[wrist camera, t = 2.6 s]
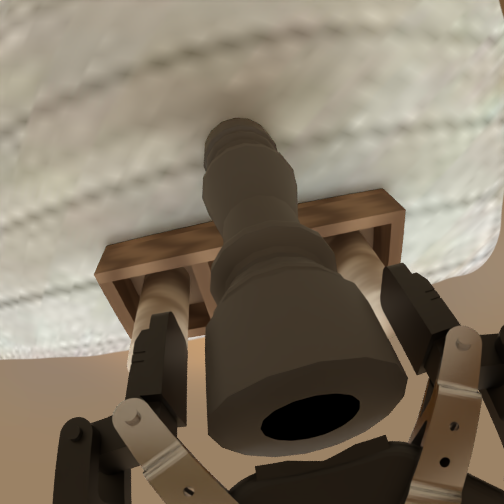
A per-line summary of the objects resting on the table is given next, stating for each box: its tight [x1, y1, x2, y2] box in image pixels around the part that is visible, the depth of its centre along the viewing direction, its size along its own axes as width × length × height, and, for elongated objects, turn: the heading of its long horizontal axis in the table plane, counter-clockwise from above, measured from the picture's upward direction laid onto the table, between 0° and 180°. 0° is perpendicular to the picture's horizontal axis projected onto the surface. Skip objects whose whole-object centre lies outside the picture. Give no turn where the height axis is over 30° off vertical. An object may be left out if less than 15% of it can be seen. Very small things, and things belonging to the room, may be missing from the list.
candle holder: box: [202, 118, 408, 457], centre depth 18 cm, size 6×6×25 cm
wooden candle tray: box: [94, 189, 406, 372], centre depth 30 cm, size 30×10×13 cm, turn 99°
